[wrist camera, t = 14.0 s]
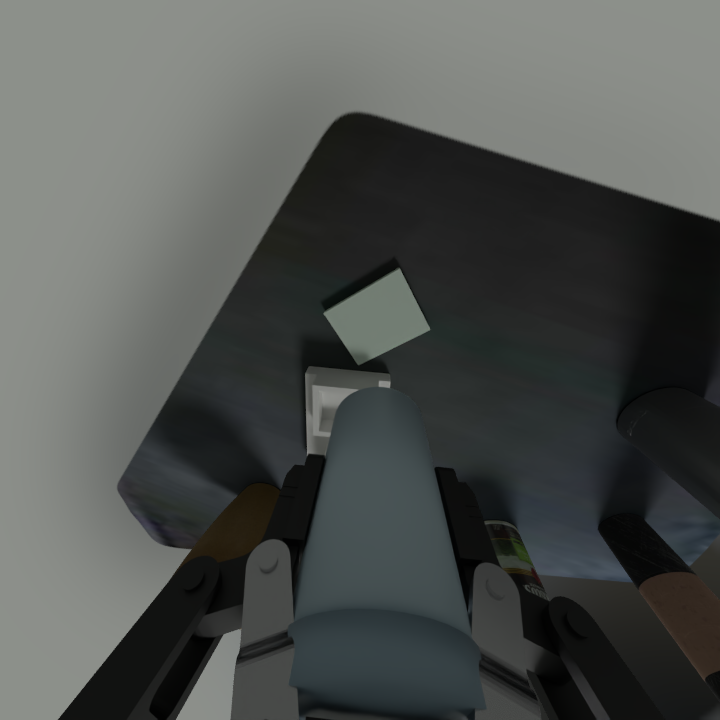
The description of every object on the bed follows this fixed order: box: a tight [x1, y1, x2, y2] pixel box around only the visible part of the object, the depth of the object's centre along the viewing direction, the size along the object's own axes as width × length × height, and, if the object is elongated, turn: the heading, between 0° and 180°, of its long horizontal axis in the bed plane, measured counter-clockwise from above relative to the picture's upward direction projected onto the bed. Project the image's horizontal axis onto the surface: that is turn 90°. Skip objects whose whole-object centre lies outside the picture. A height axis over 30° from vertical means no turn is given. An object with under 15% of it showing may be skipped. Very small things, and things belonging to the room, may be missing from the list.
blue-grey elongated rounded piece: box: [288, 387, 487, 720], centre depth 10 cm, size 5×5×10 cm
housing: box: [305, 366, 390, 456], centre depth 36 cm, size 11×17×6 cm, turn 176°
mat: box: [324, 268, 430, 365], centre depth 31 cm, size 10×8×1 cm
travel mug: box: [599, 514, 720, 701], centre depth 38 cm, size 8×8×20 cm
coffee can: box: [484, 520, 549, 601], centre depth 44 cm, size 10×10×14 cm
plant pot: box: [172, 483, 280, 629], centre depth 41 cm, size 15×15×16 cm
